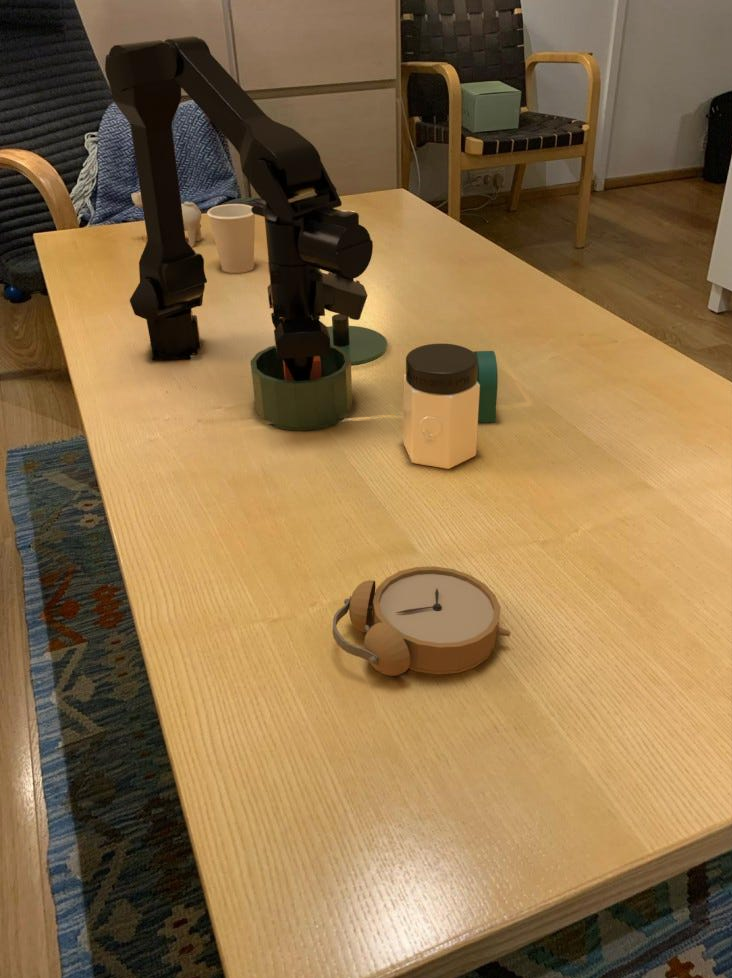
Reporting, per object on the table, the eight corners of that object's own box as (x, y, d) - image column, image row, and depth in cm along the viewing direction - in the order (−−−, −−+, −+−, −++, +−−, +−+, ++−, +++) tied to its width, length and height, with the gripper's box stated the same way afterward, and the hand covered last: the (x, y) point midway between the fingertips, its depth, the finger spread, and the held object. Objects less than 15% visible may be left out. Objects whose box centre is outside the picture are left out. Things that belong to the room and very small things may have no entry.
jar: (393, 461, 103) (392, 367, 96) (413, 429, 109) (414, 338, 102) (467, 473, 101) (472, 378, 93) (483, 440, 107) (489, 348, 100)
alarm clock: (525, 635, 74) (356, 650, 69) (511, 678, 77) (348, 696, 71) (474, 558, 83) (321, 567, 77) (463, 600, 85) (314, 611, 80)
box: (287, 396, 110) (284, 363, 107) (284, 380, 114) (281, 348, 111) (322, 393, 111) (320, 360, 108) (319, 378, 114) (317, 345, 112)
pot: (258, 434, 108) (253, 386, 104) (254, 390, 118) (249, 344, 114) (357, 426, 110) (356, 378, 106) (345, 382, 120) (343, 338, 116)
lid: (299, 373, 122) (297, 338, 119) (292, 335, 133) (289, 303, 130) (394, 366, 124) (394, 332, 121) (379, 329, 135) (379, 297, 132)
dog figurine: (145, 236, 172) (135, 179, 166) (208, 238, 171) (200, 181, 164) (135, 244, 168) (124, 186, 162) (199, 247, 166) (191, 188, 160)
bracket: (495, 422, 111) (499, 364, 106) (441, 424, 110) (443, 366, 106) (475, 361, 125) (478, 308, 120) (428, 363, 125) (429, 310, 120)
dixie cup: (205, 271, 155) (197, 214, 149) (230, 257, 162) (223, 201, 156) (246, 278, 153) (239, 219, 147) (269, 263, 159) (264, 206, 153)
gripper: (372, 281, 96) (375, 408, 105) (350, 230, 111) (354, 346, 120) (270, 288, 94) (282, 416, 104) (262, 235, 109) (273, 352, 119)
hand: (301, 380), depth 112 cm, fingers closed on box, 4 cm apart
